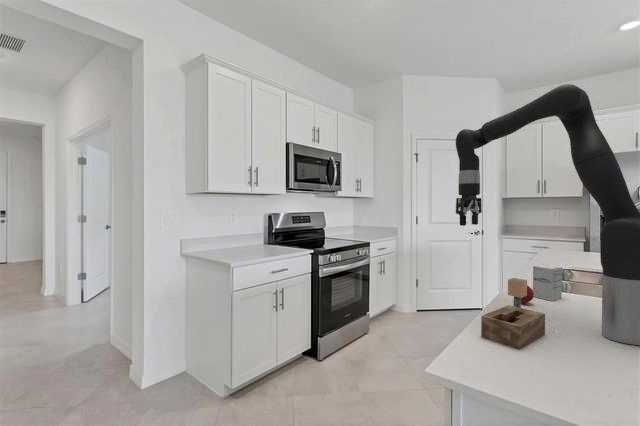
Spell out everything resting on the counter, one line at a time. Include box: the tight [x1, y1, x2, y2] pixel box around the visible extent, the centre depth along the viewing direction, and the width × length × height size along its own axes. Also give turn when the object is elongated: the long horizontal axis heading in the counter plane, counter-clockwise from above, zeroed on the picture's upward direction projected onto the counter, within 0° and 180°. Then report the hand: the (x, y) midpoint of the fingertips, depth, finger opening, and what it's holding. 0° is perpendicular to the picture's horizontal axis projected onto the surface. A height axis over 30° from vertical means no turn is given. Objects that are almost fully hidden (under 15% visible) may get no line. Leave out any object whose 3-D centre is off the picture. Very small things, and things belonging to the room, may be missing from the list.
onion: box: [521, 284, 535, 305], centre depth 122 cm, size 6×6×8 cm
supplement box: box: [532, 263, 563, 302], centre depth 129 cm, size 7×7×13 cm
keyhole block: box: [480, 304, 546, 350], centre depth 93 cm, size 10×16×6 cm, turn 126°
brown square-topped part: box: [507, 277, 528, 308], centre depth 105 cm, size 4×4×13 cm
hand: (469, 225), depth 126 cm, fingers open, 8 cm apart
